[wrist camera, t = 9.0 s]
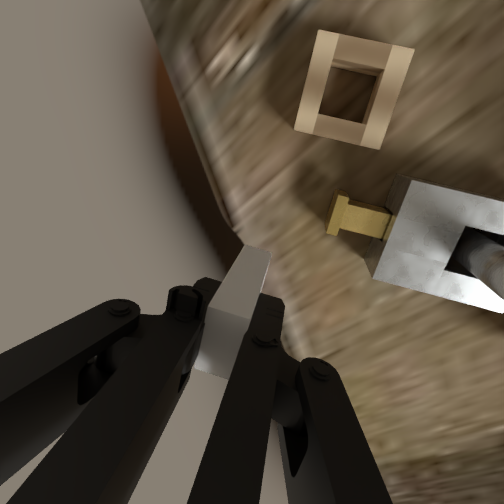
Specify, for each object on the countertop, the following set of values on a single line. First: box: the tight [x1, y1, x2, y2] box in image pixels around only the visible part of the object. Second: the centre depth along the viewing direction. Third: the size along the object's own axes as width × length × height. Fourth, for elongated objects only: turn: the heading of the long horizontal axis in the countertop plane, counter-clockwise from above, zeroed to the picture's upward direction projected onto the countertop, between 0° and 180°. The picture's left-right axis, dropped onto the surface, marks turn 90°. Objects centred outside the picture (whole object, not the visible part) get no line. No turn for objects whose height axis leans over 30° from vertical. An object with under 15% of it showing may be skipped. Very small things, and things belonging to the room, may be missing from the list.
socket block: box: [364, 173, 504, 313], centre depth 35 cm, size 11×14×6 cm
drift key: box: [325, 189, 393, 239], centre depth 36 cm, size 4×10×4 cm, turn 78°
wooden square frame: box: [294, 30, 415, 150], centre depth 33 cm, size 9×9×4 cm
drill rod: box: [451, 226, 504, 300], centre depth 30 cm, size 4×4×18 cm
